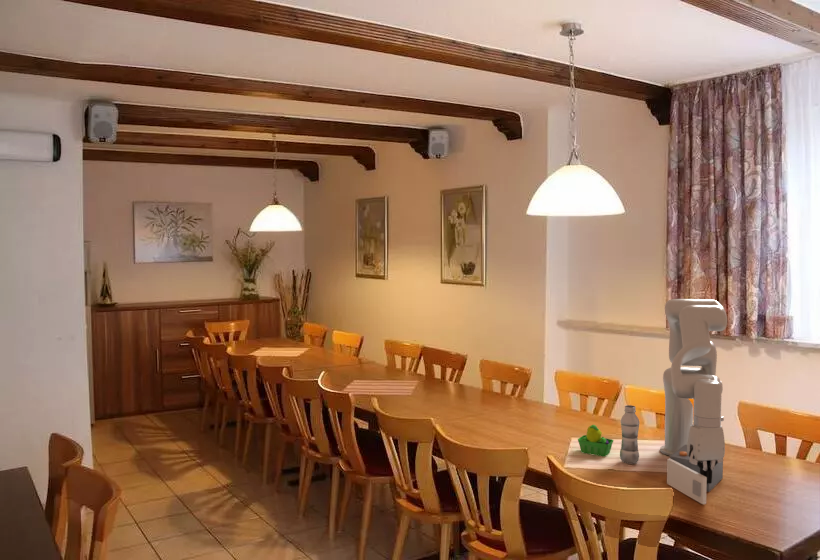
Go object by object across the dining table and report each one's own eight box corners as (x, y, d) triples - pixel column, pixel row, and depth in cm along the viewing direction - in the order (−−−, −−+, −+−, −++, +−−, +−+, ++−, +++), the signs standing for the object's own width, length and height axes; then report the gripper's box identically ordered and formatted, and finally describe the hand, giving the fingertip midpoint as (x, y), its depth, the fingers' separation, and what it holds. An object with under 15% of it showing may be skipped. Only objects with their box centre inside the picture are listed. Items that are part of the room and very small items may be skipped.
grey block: (684, 470, 235) (685, 439, 235) (722, 478, 228) (723, 446, 227) (669, 483, 223) (670, 451, 222) (708, 492, 215) (709, 458, 215)
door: (670, 483, 222) (670, 458, 222) (706, 503, 204) (706, 477, 204) (665, 483, 222) (665, 459, 221) (700, 504, 204) (701, 477, 204)
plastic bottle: (635, 459, 247) (635, 404, 246) (641, 465, 241) (642, 408, 239) (617, 459, 247) (617, 404, 246) (623, 466, 240) (624, 408, 239)
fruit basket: (614, 453, 255) (614, 422, 255) (606, 459, 248) (606, 428, 247) (584, 448, 262) (584, 418, 261) (575, 454, 254) (575, 423, 254)
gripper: (720, 416, 212) (719, 476, 213) (677, 419, 209) (676, 480, 210) (737, 423, 205) (736, 484, 206) (692, 426, 201) (691, 488, 202)
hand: (705, 482), depth 208 cm, fingers closed
